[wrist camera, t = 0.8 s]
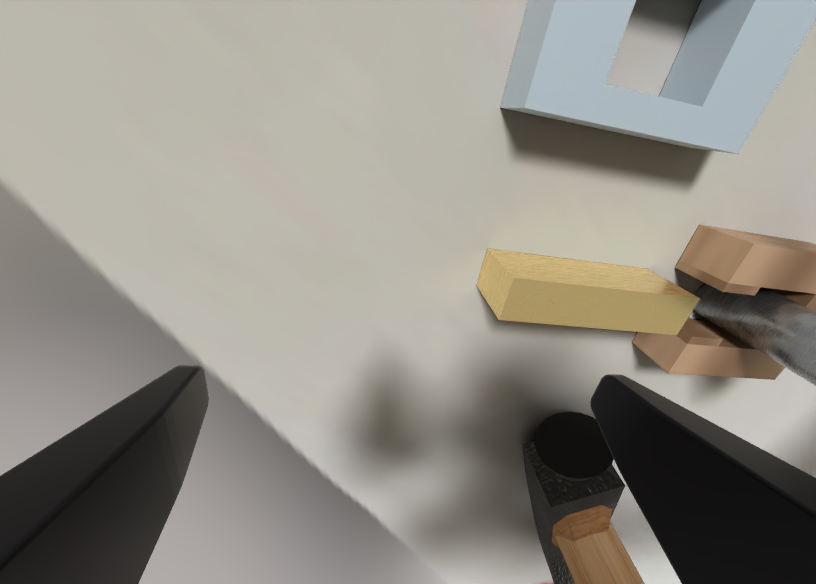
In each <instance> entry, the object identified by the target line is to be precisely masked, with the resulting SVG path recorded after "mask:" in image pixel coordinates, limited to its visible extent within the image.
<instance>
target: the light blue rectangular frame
mask: <svg viewBox="0 0 816 584" xmlns="http://www.w3.org/2000/svg"><path fill="white" fill-rule="evenodd" d="M635 2H636V0H528V4H527V8H526V12H525V15H524V19H523V23H522V27H521V31H520V35H519V38H518V42H517V46H516V50H515V54H514V57H513V61H512V65H511V69H510V73H509V76H508V80H507V84H506V88H505V92H504V95H503V99H502V103H501V107H500V108H504V109H509V110H514V111H518V112H523V113H528V114H533V115H537V116H542V117H547V118H551V119H556V120H561V121H565V122H570V123H575V124H580V125H584V126H589V127H594V128H598V129H603V130H608V131H612V132H617V133H622V134H627V135H631V136H636V137H641V138H645V139H650V140H655V141H659V142H664V143H669V144H674V145H678V146H683V147H688V148H695V149H703V150H711V151H719V152H727V153H735V154H739V153H740V151H741V149H742V147H743V146H744V144H745V142H746V140H747V139H748V137H749V135H750V133H751V132H752V130H753V128H754V126H755V125H756V123H757V121H758V119H759V118H760V116H761V114H762V112H763V111H764V109H765V107H766V105H767V104H768V102H769V100H770V98H771V97H772V95H773V93H774V91H775V90H776V88H777V86H778V85H779V83H780V81H781V79H782V78H783V76H784V74H785V72H786V71H787V69H788V67H789V65H790V64H791V62H792V60H793V58H794V57H795V55H796V53H797V51H798V50H799V48H800V46H801V44H802V43H803V41H804V39H805V37H806V36H807V34H808V32H809V30H810V29H811V27H812V25H813V23H814V22H815V20H816V0H702V1H701V3H700V5H699V7H698V10H697V12H696V14H695V16H694V19H693V21H692V23H691V26H690V28H689V30H688V32H687V35H686V37H685V39H684V41H683V44H682V46H681V48H680V50H679V53H678V55H677V57H676V59H675V62H674V64H673V66H672V68H671V71H670V73H669V75H668V77H667V80H666V82H665V84H664V86H663V89H662V91H661V93H660V95H659V96H655V95H651V94H647V93H643V92H639V91H635V90H630V89H626V88H622V87H618V86H614V85H610V84H606V83H605V82H606V80H607V77H608V74H609V72H610V69H611V66H612V64H613V61H614V58H615V56H616V53H617V50H618V48H619V45H620V42H621V40H622V37H623V34H624V32H625V29H626V26H627V24H628V21H629V18H630V16H631V13H632V10H633V8H634V5H635Z"/></svg>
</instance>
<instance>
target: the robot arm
mask: <svg viewBox="0 0 816 584" xmlns="http://www.w3.org/2000/svg"><path fill="white" fill-rule="evenodd" d="M208 400H209V397H208V390H207V384H206V378H205V372H204V369H203V367H201V366H198V365H180V366H177V367H175V368H173V369H171V370H170V371H168V372H167V373H165V374H163V375H162V376H160V377H159V378H157V379H155V380H154V381H152V382H151V383H149V384H147V385H146V386H144V387H142V388H141V389H139V390H138V391H136V392H135V393H133V394H131V395H130V396H128V397H126V398H125V399H124V400H122V401H120V402H119V403H117V404H115V405H114V406H112V407H110V408H109V409H107V410H106V411H104V412H102V413H101V414H99V415H97V416H96V417H94V418H93V419H91V420H90V421H88V422H86V423H85V424H83V425H81V426H80V427H79V428H77V429H75V430H73V431H72V432H70V433H69V434H67V435H65V436H64V437H62V438H61V439H59V440H58V441H56V442H54V443H53V444H51V445H49V446H48V447H46V448H44V449H43V450H41V451H40V452H38V453H37V454H35V455H33V456H32V457H30V458H28V459H27V460H25V461H24V462H22V463H20V464H19V465H17V466H16V467H14V468H12V469H11V470H9V471H8V472H6V473H4V474H3V475H1V476H0V584H138V583H139V581H140V579H141V576H142V574H143V572H144V570H145V568H146V565H147V563H148V561H149V559H150V556H151V554H152V552H153V550H154V547H155V545H156V543H157V541H158V539H159V536H160V534H161V532H162V530H163V527H164V525H165V523H166V521H167V519H168V516H169V514H170V512H171V510H172V507H173V505H174V503H175V500H176V498H177V496H178V494H179V491H180V489H181V486H182V484H183V481H184V478H185V475H186V472H187V469H188V466H189V463H190V460H191V457H192V454H193V451H194V448H195V445H196V441H197V438H198V435H199V432H200V429H201V426H202V423H203V420H204V417H205V414H206V411H207V407H208ZM591 409H592V411H593V413H594V416H595V418H596V420H597V422H598V425H599V427H600V429H601V431H602V433H603V436H604V438H605V440H606V442H607V445H608V447H609V449H610V451H611V454H612V456H613V458H614V460H615V462H616V464H617V466H618V469H619V471H620V472H621V474H622V476H623V478H624V480H625V482H626V484H627V485H628V487H629V489H630V491H631V493H632V494H633V496H634V498H635V500H636V502H637V504H638V505H639V507H640V509H641V511H642V513H643V514H644V516H645V518H646V520H647V522H648V523H649V525H650V527H651V529H652V531H653V532H654V534H655V536H656V538H657V540H658V541H659V543H660V545H661V547H662V549H663V550H664V552H665V554H666V556H667V558H668V559H669V561H670V563H671V565H672V567H673V569H674V570H675V572H676V574H677V576H678V578H679V579H680V581H681V583H682V584H816V478H815V477H813V476H811V475H809V474H807V473H805V472H803V471H801V470H800V469H798V468H796V467H794V466H792V465H790V464H788V463H786V462H785V461H783V460H781V459H779V458H777V457H775V456H773V455H772V454H770V453H768V452H766V451H764V450H762V449H760V448H758V447H757V446H755V445H753V444H751V443H749V442H747V441H745V440H743V439H742V438H740V437H738V436H736V435H734V434H732V433H730V432H728V431H727V430H725V429H723V428H721V427H719V426H717V425H715V424H713V423H712V422H710V421H708V420H706V419H704V418H702V417H700V416H698V415H697V414H695V413H693V412H691V411H689V410H687V409H685V408H684V407H682V406H680V405H678V404H676V403H674V402H672V401H670V400H669V399H667V398H665V397H663V396H661V395H659V394H657V393H655V392H654V391H652V390H650V389H648V388H646V387H644V386H642V385H640V384H639V383H637V382H635V381H633V380H631V379H629V378H627V377H625V376H623V375H605V376H604V377H603V378H602V379H601V381H600V383H599V385H598V386H597V388H596V390H595V392H594V394H593V396H592V398H591Z"/></svg>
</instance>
